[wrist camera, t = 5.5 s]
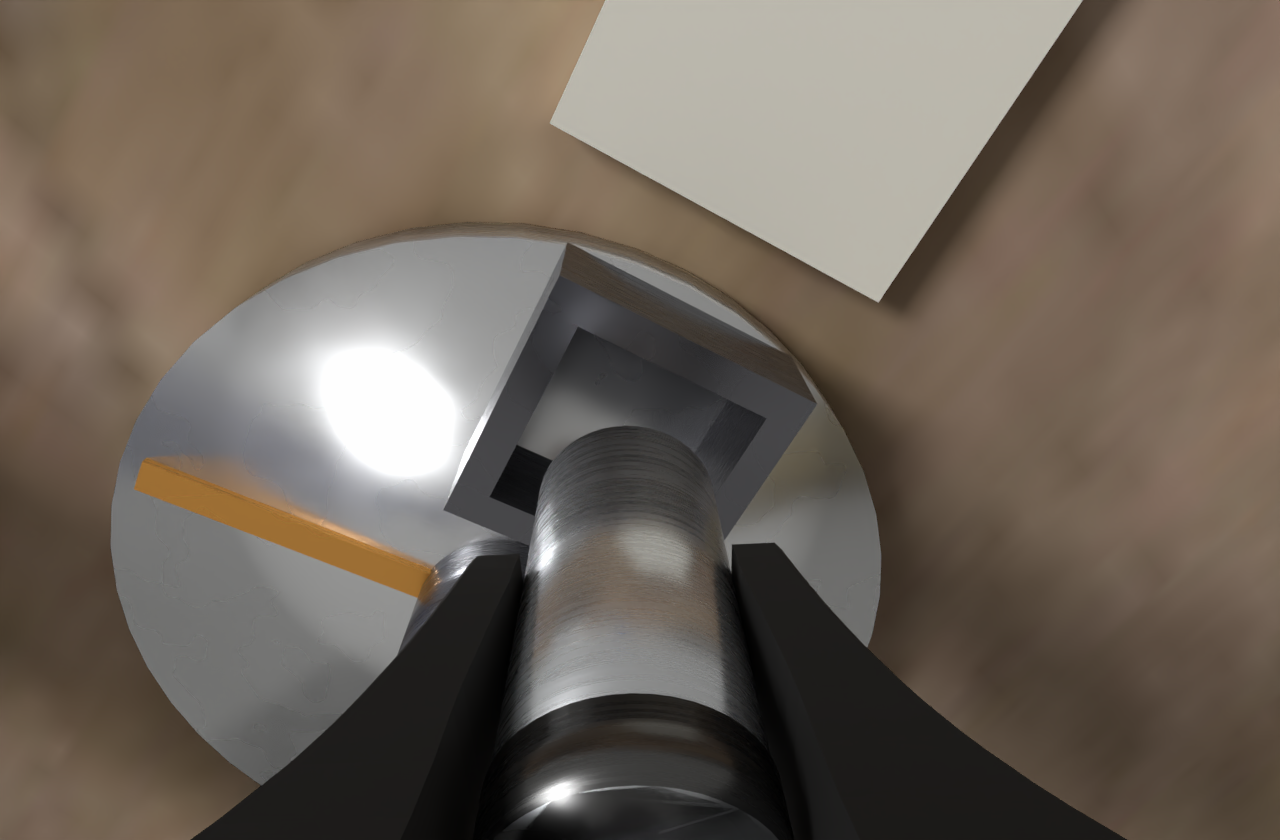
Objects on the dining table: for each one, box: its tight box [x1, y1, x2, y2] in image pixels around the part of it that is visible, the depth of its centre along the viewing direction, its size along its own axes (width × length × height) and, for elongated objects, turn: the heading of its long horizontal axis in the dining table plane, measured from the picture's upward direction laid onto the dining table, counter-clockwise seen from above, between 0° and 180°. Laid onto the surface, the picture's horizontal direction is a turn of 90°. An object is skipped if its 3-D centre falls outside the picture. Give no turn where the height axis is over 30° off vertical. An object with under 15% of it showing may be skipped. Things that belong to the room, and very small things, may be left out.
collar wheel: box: [111, 222, 881, 785], centre depth 20 cm, size 19×19×4 cm
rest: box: [550, 0, 1083, 302], centre depth 16 cm, size 8×8×1 cm
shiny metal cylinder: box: [472, 426, 794, 840], centre depth 10 cm, size 3×3×7 cm
